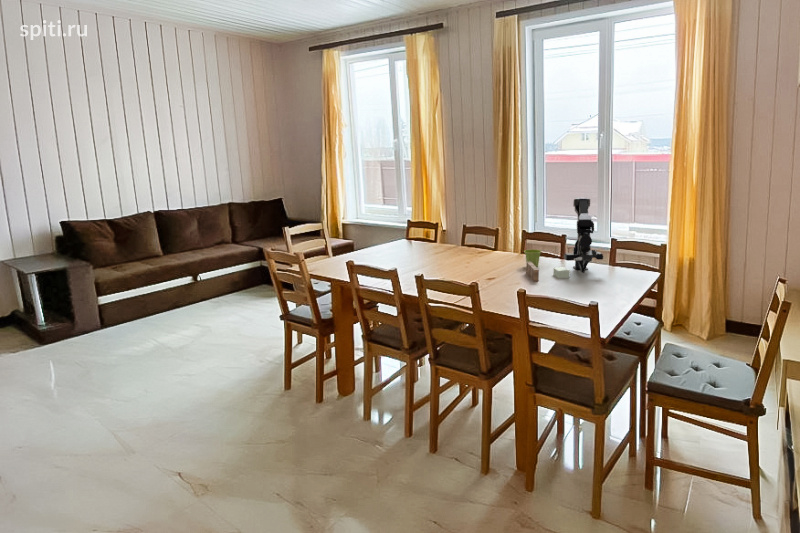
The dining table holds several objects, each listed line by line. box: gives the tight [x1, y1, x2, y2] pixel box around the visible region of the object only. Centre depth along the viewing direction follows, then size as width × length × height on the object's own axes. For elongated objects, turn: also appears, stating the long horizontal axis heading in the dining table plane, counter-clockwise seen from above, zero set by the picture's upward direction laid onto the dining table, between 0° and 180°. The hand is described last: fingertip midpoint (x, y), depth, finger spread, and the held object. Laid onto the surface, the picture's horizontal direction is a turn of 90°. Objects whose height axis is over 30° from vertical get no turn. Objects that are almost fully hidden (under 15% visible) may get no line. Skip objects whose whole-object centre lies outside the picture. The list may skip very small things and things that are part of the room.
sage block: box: [553, 266, 571, 279], centre depth 295 cm, size 7×6×4 cm
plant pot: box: [523, 249, 542, 268], centre depth 317 cm, size 9×9×9 cm
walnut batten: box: [526, 262, 540, 282], centre depth 295 cm, size 18×2×6 cm, turn 179°
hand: (582, 272), depth 295 cm, fingers closed
